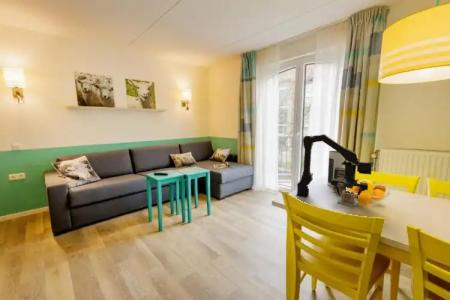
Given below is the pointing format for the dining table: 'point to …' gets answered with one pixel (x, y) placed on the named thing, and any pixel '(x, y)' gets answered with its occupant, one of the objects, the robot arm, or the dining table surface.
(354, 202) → the grey square slab
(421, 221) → the dining table surface
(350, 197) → the open wooden cubby
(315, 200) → the dining table surface
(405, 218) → the dining table surface
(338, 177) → the coffee box
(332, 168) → the speaker
